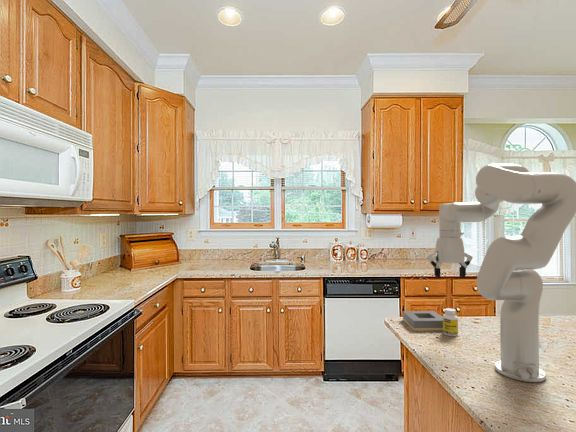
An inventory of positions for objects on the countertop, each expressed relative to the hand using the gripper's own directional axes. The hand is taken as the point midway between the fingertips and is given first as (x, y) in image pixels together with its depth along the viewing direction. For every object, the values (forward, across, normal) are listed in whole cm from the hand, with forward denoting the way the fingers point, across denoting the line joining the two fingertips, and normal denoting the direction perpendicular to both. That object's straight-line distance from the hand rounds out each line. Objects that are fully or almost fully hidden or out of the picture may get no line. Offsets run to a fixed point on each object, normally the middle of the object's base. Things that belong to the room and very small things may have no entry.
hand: (450, 277), depth 134 cm
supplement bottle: (+23, 0, 0) cm, 23 cm away
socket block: (+22, +6, -11) cm, 26 cm away
